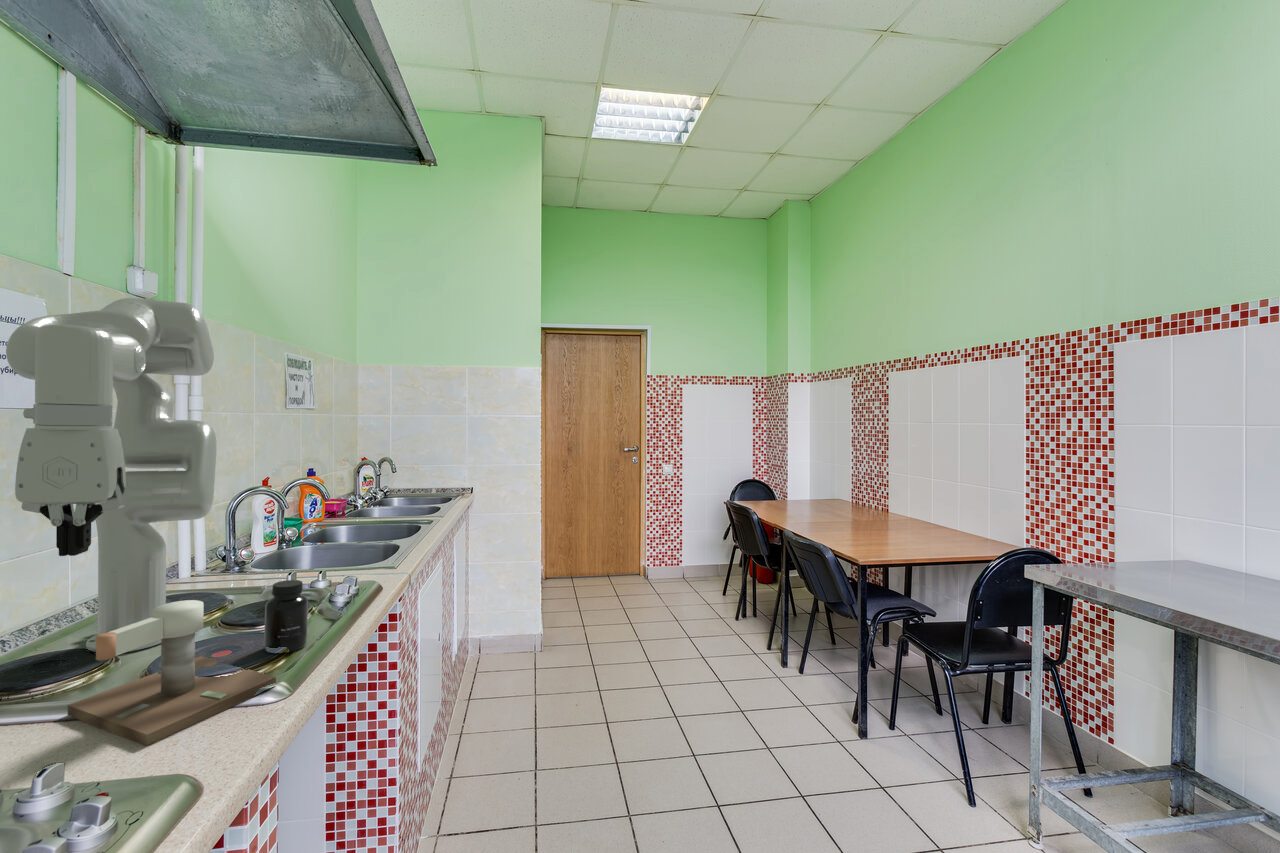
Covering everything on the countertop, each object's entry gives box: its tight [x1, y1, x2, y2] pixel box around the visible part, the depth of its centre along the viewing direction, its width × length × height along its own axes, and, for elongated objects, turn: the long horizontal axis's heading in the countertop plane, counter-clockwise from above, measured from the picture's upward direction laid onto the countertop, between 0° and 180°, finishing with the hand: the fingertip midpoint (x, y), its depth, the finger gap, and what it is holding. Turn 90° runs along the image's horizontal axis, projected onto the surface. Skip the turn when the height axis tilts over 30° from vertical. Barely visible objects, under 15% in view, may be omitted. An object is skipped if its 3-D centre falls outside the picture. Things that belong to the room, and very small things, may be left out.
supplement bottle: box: [263, 579, 309, 653], centre depth 108 cm, size 7×7×12 cm
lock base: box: [67, 632, 277, 747], centre depth 88 cm, size 18×18×10 cm
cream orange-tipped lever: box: [95, 599, 205, 661], centre depth 84 cm, size 14×6×4 cm, turn 169°
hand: (73, 553), depth 79 cm, fingers closed
